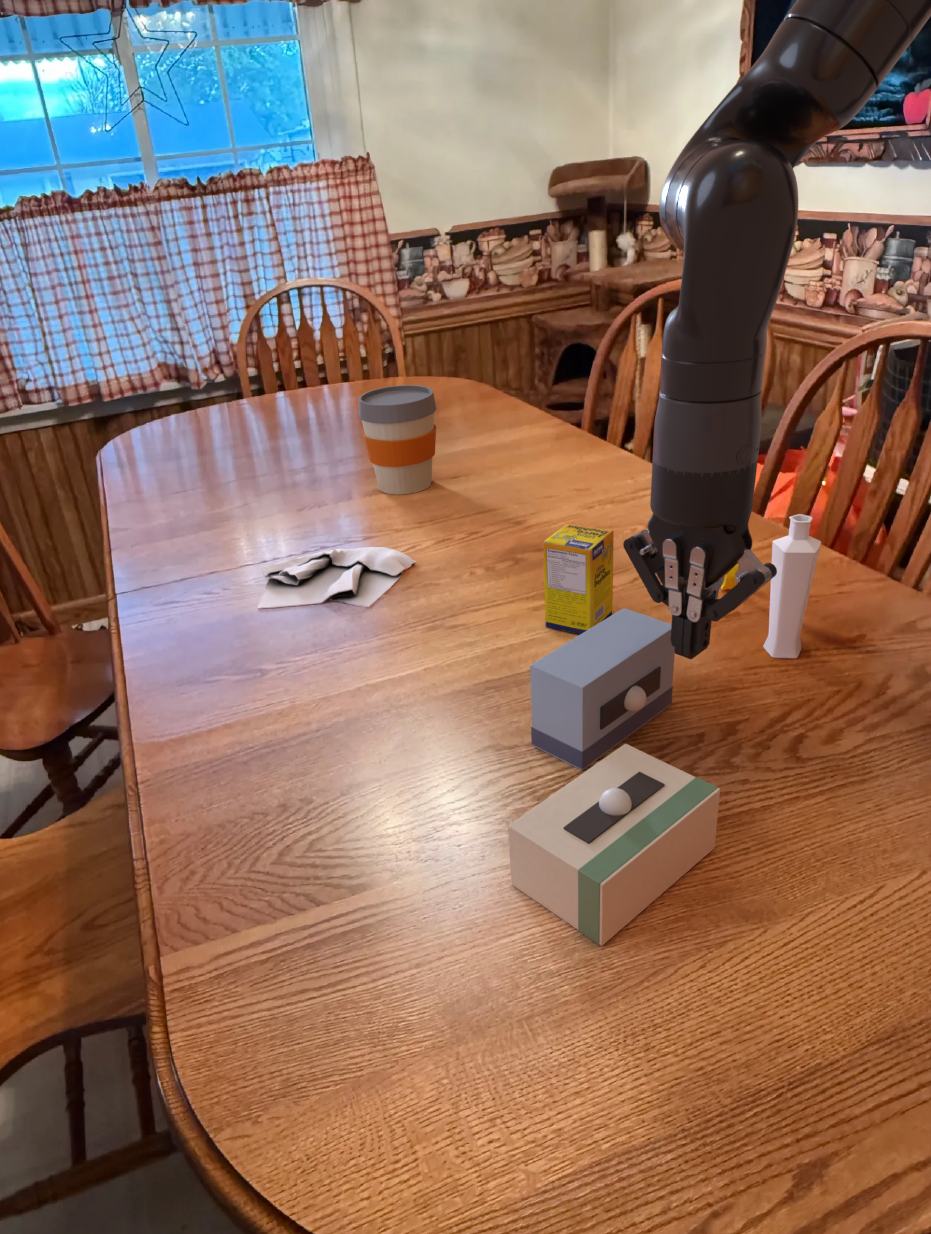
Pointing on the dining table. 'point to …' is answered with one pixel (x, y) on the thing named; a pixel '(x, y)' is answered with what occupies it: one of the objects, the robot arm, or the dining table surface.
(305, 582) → the cloth
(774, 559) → the perfume bottle
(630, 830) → the cream tissue box
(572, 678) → the blue tissue box
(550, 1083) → the dining table surface
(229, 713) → the dining table surface
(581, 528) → the supplement box
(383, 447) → the reusable coffee cup
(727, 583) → the watch
